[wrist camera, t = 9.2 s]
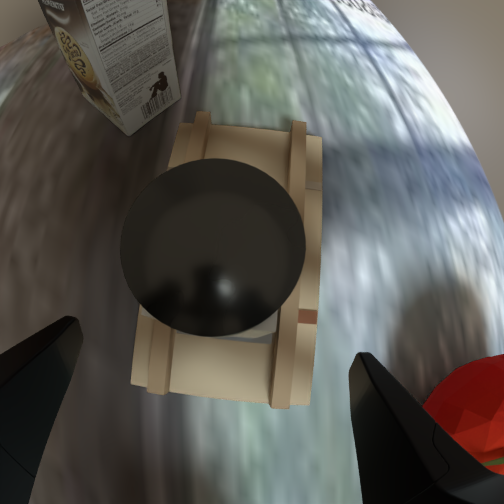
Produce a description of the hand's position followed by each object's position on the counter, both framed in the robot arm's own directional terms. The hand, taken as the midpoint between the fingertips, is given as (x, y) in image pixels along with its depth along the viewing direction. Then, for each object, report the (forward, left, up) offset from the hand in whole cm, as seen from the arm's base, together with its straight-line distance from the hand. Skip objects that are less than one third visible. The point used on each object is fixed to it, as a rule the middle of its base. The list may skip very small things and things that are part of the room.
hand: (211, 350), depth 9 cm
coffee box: (+23, -2, -11) cm, 26 cm away
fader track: (+5, -4, -11) cm, 13 cm away
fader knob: (+2, -1, -9) cm, 9 cm away
